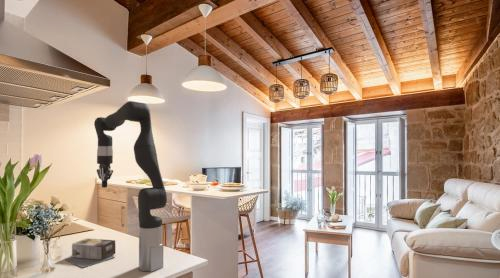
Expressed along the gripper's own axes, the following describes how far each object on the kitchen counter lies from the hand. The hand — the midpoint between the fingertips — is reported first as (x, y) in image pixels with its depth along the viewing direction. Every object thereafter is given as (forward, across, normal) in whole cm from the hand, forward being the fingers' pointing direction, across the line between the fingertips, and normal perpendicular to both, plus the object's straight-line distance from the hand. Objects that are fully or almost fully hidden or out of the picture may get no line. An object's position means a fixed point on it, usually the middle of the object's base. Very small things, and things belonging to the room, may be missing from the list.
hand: (104, 187), depth 157 cm
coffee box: (+25, -9, +17) cm, 32 cm away
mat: (+29, -18, +16) cm, 38 cm away
